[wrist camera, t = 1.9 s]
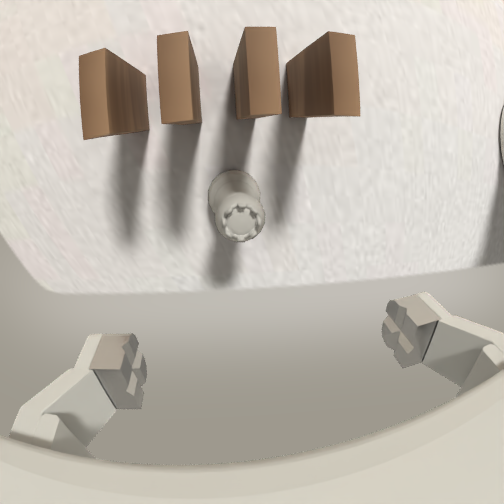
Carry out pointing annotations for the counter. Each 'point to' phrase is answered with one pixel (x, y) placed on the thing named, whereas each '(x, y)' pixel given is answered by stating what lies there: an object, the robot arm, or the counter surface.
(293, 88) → the domino
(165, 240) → the counter surface
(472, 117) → the counter surface
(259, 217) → the rook chess piece
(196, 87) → the domino
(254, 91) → the domino
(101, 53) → the domino
